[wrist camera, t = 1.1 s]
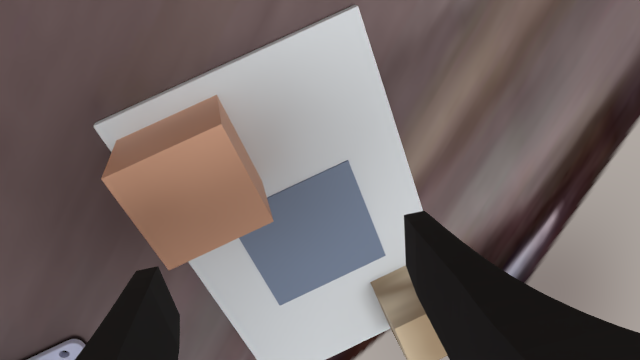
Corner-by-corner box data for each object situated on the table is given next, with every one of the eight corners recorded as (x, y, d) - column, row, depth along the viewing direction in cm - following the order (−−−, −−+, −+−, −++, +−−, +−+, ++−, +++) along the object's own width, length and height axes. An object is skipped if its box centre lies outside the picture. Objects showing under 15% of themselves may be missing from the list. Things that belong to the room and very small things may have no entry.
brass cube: (388, 323, 30) (413, 372, 27) (370, 282, 28) (394, 328, 25) (442, 297, 31) (474, 342, 27) (428, 254, 29) (460, 297, 25)
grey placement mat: (273, 378, 31) (274, 385, 30) (95, 122, 21) (92, 126, 20) (447, 294, 31) (451, 300, 31) (354, 4, 21) (358, 6, 21)
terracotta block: (172, 222, 24) (168, 270, 20) (116, 140, 21) (101, 179, 18) (261, 180, 24) (273, 221, 20) (216, 94, 21) (221, 123, 18)
